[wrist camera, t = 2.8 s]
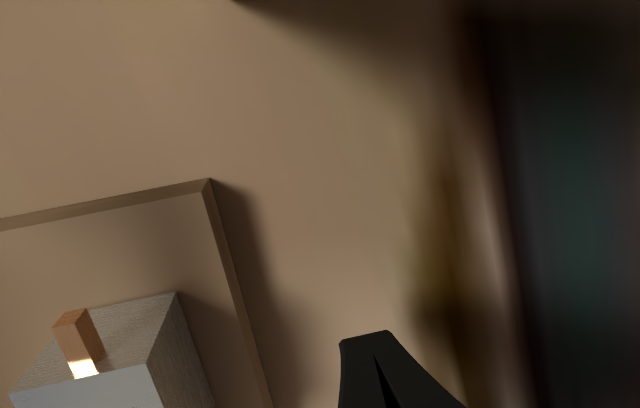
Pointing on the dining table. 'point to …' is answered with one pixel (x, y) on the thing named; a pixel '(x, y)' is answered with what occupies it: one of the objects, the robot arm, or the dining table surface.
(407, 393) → the robot arm
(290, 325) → the dining table surface
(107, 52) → the dining table surface
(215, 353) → the board
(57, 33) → the dining table surface
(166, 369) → the block
